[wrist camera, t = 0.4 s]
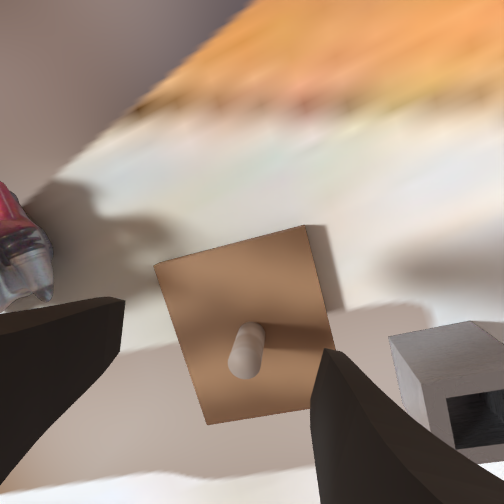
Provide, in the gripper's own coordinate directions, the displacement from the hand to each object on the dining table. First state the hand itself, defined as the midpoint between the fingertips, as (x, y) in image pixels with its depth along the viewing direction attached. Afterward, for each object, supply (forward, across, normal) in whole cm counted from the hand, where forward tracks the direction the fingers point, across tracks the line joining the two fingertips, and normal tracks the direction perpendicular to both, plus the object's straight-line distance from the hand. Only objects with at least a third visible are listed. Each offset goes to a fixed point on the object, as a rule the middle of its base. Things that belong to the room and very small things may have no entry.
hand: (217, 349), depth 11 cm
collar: (+10, -13, +3) cm, 17 cm away
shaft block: (+10, -1, +4) cm, 10 cm away
